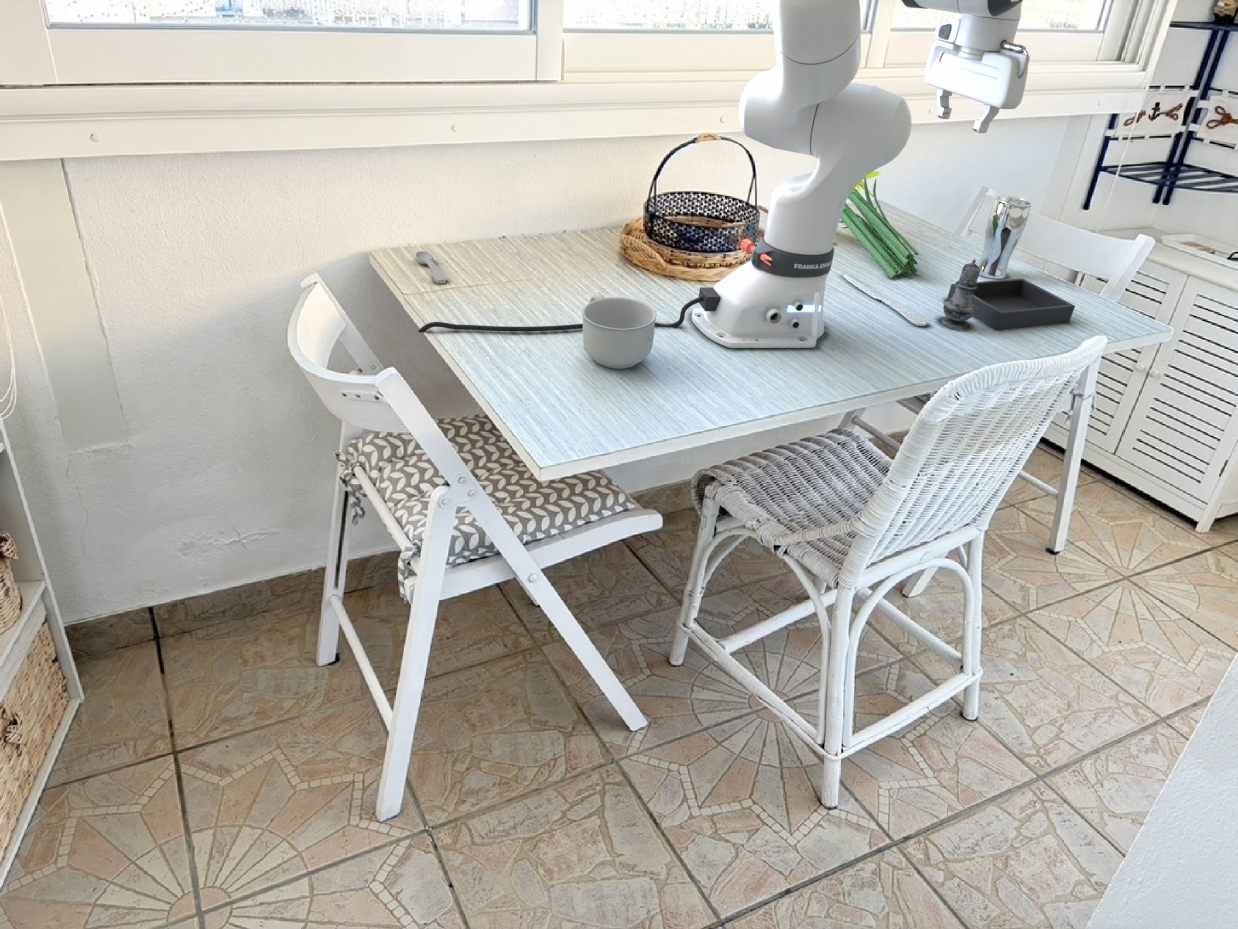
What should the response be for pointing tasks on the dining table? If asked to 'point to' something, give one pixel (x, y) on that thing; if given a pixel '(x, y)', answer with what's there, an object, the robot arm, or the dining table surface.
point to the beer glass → (1003, 234)
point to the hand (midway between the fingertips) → (960, 124)
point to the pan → (1016, 304)
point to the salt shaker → (961, 299)
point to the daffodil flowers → (878, 233)
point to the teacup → (618, 331)
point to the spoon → (428, 259)
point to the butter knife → (887, 302)
